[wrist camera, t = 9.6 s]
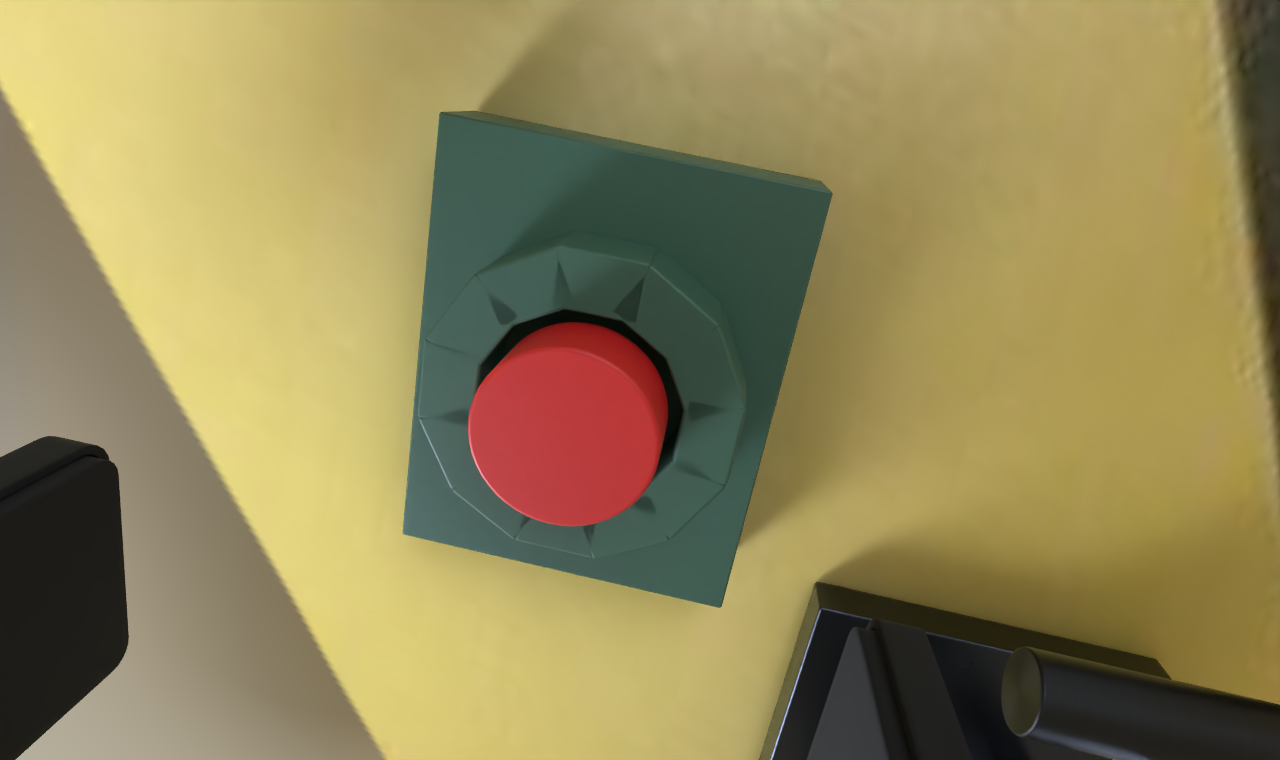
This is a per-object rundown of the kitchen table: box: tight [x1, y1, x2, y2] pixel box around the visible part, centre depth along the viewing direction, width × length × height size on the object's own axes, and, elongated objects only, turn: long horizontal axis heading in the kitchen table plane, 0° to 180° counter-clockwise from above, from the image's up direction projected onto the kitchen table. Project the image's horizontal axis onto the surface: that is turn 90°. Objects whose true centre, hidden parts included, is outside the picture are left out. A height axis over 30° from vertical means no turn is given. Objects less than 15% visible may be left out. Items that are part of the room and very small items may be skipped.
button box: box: [403, 111, 832, 608], centre depth 17 cm, size 10×8×4 cm
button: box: [468, 322, 668, 526], centre depth 15 cm, size 4×4×2 cm
